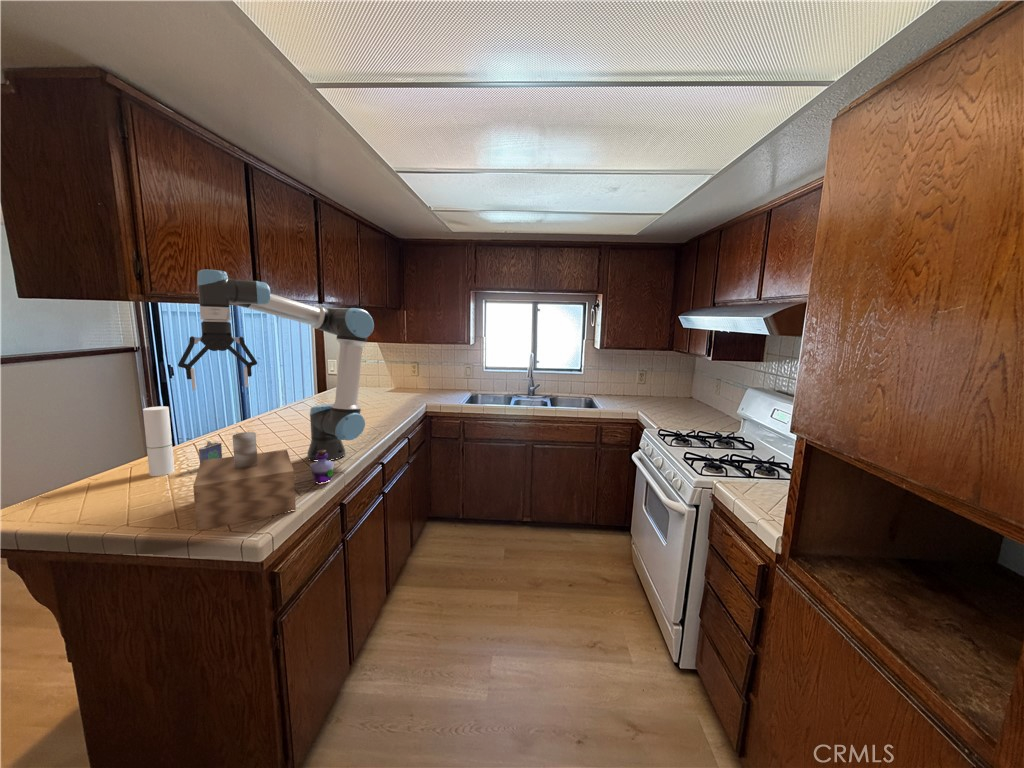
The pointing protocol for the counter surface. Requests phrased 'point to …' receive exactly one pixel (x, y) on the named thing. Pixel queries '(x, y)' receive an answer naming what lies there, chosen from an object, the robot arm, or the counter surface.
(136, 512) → the counter surface
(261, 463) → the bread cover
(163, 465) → the cylindrical container
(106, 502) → the counter surface
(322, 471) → the potion bottle
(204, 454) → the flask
